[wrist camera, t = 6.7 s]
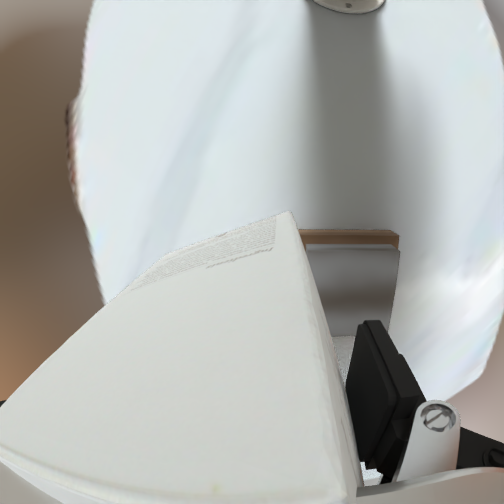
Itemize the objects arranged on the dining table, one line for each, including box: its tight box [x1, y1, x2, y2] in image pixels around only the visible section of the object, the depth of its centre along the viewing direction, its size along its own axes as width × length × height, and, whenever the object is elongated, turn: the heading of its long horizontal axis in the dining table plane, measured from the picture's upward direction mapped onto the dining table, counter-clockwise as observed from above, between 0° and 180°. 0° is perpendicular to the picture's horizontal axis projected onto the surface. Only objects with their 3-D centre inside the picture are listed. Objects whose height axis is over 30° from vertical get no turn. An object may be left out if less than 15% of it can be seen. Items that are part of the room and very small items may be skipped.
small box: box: [0, 211, 364, 504], centre depth 7 cm, size 8×6×10 cm
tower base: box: [298, 230, 400, 337], centre depth 32 cm, size 12×12×6 cm
